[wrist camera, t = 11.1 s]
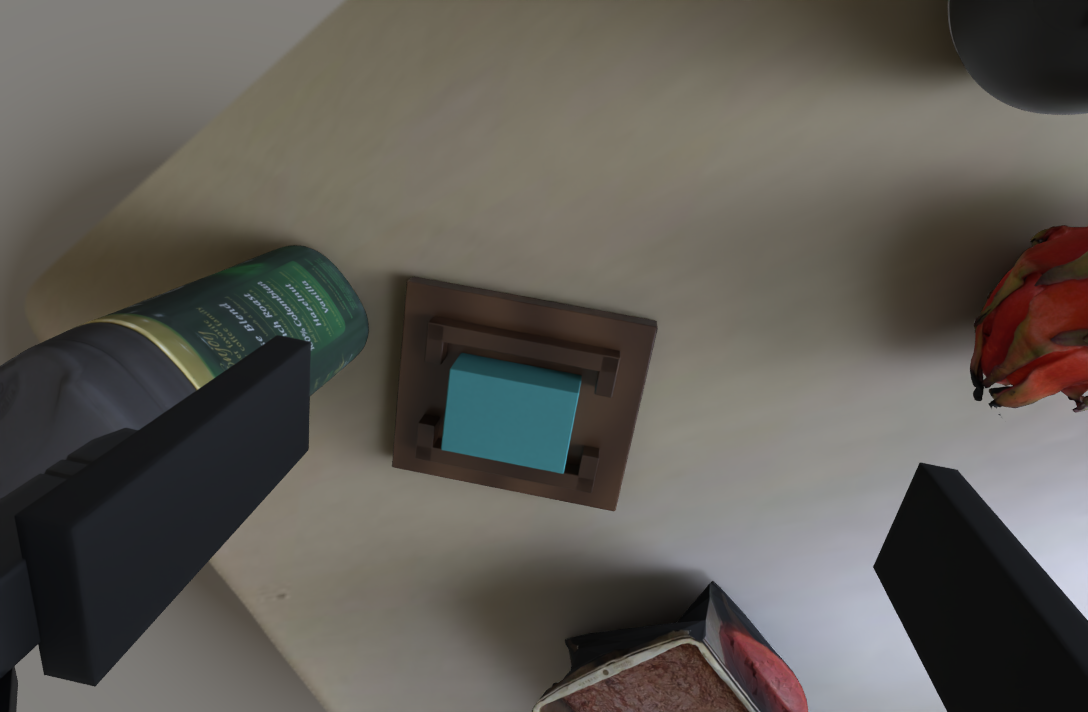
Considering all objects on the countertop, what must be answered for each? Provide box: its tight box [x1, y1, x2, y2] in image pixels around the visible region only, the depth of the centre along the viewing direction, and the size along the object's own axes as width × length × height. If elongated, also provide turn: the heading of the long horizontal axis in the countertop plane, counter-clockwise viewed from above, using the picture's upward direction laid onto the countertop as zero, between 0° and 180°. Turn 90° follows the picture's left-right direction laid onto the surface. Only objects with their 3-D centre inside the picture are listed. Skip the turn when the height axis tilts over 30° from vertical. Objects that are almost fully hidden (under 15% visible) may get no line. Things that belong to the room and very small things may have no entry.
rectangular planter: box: [532, 581, 808, 712], centre depth 41 cm, size 14×18×10 cm
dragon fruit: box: [970, 225, 1088, 422], centre depth 30 cm, size 8×8×12 cm
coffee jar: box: [0, 245, 369, 499], centre depth 30 cm, size 10×8×19 cm
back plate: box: [392, 277, 658, 511], centre depth 38 cm, size 14×12×2 cm
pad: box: [441, 353, 582, 474], centre depth 37 cm, size 7×5×3 cm
